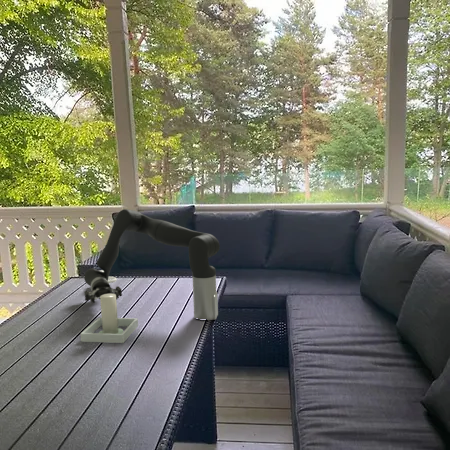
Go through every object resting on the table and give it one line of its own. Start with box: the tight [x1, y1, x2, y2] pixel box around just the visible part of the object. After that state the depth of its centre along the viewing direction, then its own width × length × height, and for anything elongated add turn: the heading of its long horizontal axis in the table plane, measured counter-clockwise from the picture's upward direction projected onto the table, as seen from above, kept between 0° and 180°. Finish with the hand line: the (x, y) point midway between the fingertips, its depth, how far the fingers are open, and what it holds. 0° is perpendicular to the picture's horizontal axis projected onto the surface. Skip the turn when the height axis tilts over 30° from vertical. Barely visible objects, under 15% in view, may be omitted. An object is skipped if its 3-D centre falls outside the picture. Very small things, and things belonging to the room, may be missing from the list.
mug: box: [98, 269, 118, 284], centre depth 220 cm, size 12×10×8 cm
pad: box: [98, 327, 124, 334], centre depth 163 cm, size 9×9×1 cm
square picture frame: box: [80, 317, 139, 344], centre depth 163 cm, size 16×16×3 cm
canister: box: [99, 294, 119, 334], centre depth 162 cm, size 6×6×14 cm
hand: (105, 298), depth 172 cm, fingers open, 8 cm apart
